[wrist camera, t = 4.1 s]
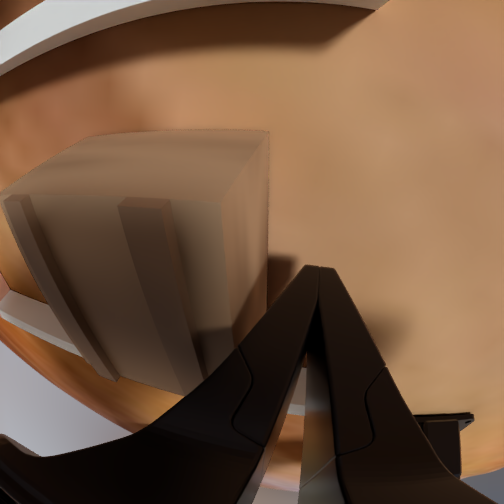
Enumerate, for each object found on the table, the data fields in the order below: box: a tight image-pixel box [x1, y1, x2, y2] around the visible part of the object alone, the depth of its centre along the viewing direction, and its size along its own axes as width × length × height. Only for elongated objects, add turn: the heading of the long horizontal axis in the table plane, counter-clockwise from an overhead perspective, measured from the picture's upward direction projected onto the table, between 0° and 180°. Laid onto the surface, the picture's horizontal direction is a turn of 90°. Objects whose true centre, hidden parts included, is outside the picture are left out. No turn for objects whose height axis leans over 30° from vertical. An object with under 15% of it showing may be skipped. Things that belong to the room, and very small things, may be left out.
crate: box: [0, 129, 269, 396], centre depth 8 cm, size 7×6×4 cm
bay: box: [0, 0, 389, 416], centre depth 10 cm, size 16×23×2 cm
